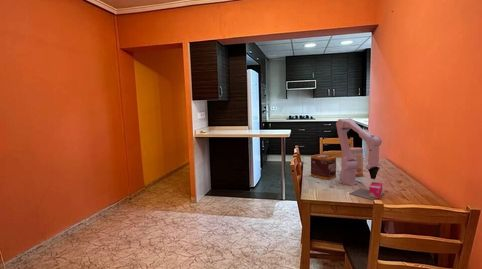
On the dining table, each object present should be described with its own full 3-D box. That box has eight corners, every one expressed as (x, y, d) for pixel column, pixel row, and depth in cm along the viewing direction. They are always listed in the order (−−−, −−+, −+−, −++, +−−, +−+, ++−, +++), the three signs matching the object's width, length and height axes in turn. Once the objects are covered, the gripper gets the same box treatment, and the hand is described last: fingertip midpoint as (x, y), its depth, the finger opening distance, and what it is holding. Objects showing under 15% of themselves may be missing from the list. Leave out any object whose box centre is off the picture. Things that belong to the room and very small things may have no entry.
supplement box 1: (328, 180, 181) (328, 158, 179) (310, 175, 193) (310, 155, 192) (336, 177, 187) (336, 156, 185) (319, 173, 199) (319, 153, 198)
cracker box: (360, 174, 192) (360, 147, 190) (363, 176, 186) (363, 148, 184) (341, 174, 193) (341, 147, 191) (343, 176, 187) (343, 148, 185)
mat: (349, 194, 151) (349, 193, 151) (361, 188, 159) (361, 188, 159) (372, 200, 140) (372, 199, 140) (384, 194, 148) (384, 193, 148)
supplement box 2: (382, 192, 150) (380, 198, 141) (371, 191, 153) (368, 196, 144) (383, 183, 149) (380, 188, 140) (371, 181, 153) (368, 187, 144)
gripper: (374, 159, 144) (374, 182, 146) (386, 155, 153) (385, 177, 154) (362, 157, 150) (362, 180, 151) (374, 154, 158) (373, 175, 160)
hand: (373, 178), depth 153 cm, fingers closed
